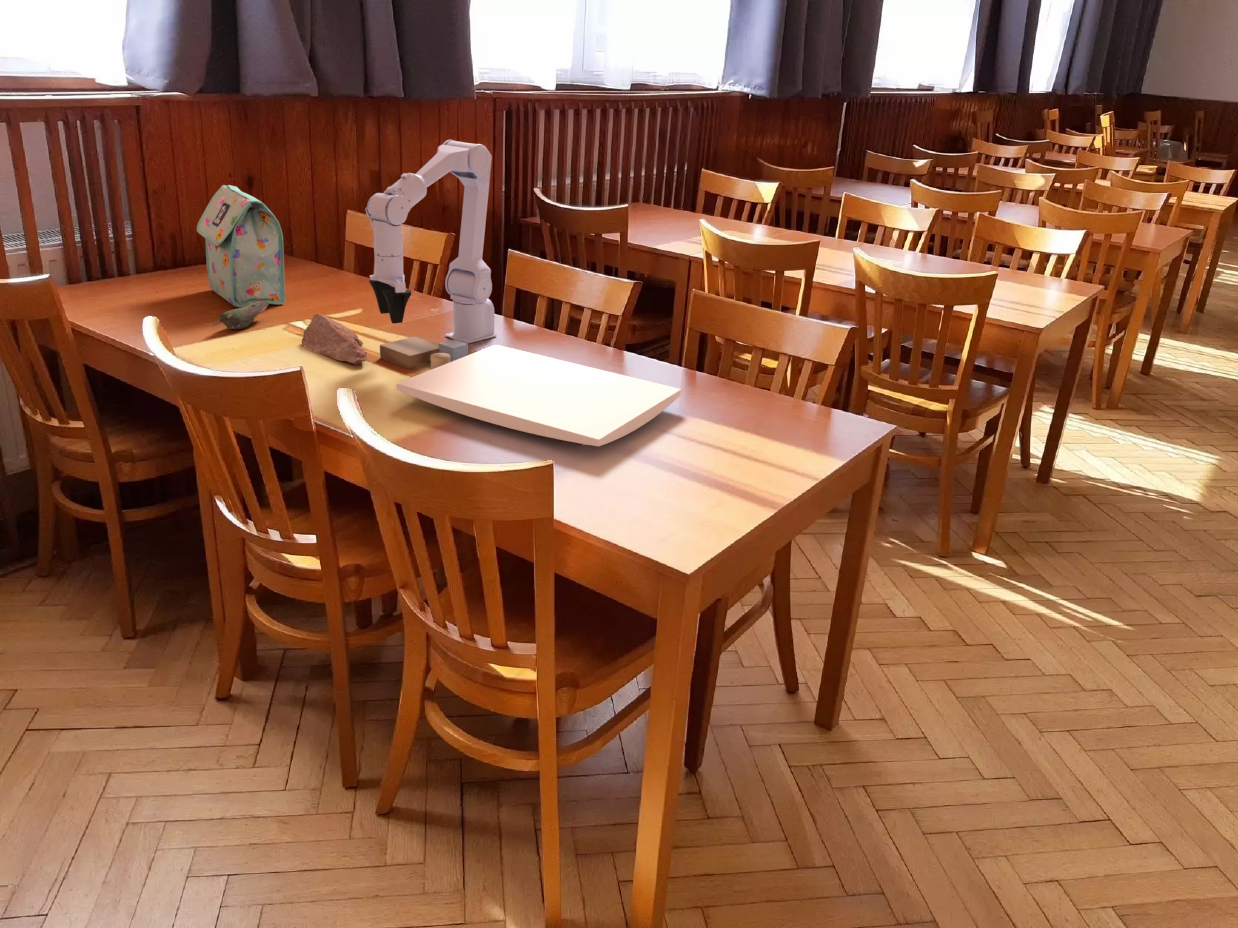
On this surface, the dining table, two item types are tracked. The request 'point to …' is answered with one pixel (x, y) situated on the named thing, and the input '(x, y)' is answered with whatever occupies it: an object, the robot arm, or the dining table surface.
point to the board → (542, 395)
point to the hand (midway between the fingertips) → (391, 317)
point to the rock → (333, 340)
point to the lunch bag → (243, 248)
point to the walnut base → (409, 352)
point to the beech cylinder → (439, 359)
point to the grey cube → (454, 349)
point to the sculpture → (242, 315)
